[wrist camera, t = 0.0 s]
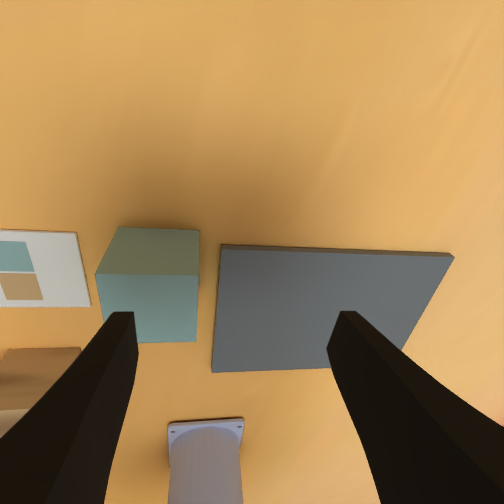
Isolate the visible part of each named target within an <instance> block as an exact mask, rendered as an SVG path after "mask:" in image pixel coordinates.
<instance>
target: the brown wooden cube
mask: <svg viewBox="0 0 504 504" xmlns="http://www.w3.org/2000/svg"><path fill="white" fill-rule="evenodd" d="M80 353H81V348H80V347H67V348H24V349H9V350H8V351H7V353H6V354H5V356H4V357H3V359H2V360H1V362H0V438H1V437H2V436H3V435H4V434H5V433H6V432H7V431H8V430H9V429H10V428H11V427H12V426H13V425H14V424H15V423H16V422H18V421H19V420H20V419H21V418H22V417H23V416H24V415H25V414H26V413H27V412H28V411H29V410H30V409H31V408H32V407H33V406H34V404H35V403H36V402H37V401H38V400H39V399H40V398H41V397H42V396H43V395H44V394H45V393H46V392H47V391H48V390H49V388H50V387H51V386H52V385H53V384H54V383H55V382H56V381H57V380H58V379H59V378H60V377H61V375H62V374H63V373H64V372H65V371H66V370H67V369H68V367H69V366H70V365H71V364H72V363H73V362H74V360H75V359H76V358H77V357H78V356H79V354H80Z"/></svg>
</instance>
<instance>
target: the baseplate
mask: <svg viewBox="0 0 504 504" xmlns="http://www.w3.org/2000/svg"><path fill="white" fill-rule="evenodd" d="M454 258H455V257H454V256H453V255H451V254H450V253H432V252H405V251H378V250H351V249H325V248H298V247H271V246H244V245H222V246H221V258H220V270H219V282H218V294H217V306H216V318H215V330H214V342H213V354H212V367H211V369H212V373H219V372H244V371H269V370H293V369H318V368H331V365H330V362H329V358H328V354H327V350H326V347H327V345H328V342H329V339H330V337H331V334H332V331H333V329H334V326H335V323H336V321H337V318H338V315H339V313H340V311H357V312H358V313H359V314H360V315H361V316H363V317H364V318H365V319H366V320H367V321H368V322H369V323H370V324H372V325H373V326H374V327H375V328H376V329H377V330H378V331H379V332H380V333H382V334H383V335H384V336H385V337H386V338H387V339H388V340H389V341H391V342H392V343H393V344H394V345H395V346H396V347H397V348H398V349H400V350H402V348H403V346H404V345H405V343H406V341H407V340H408V338H409V336H410V334H411V333H412V331H413V329H414V327H415V326H416V324H417V322H418V320H419V319H420V317H421V315H422V313H423V312H424V310H425V308H426V307H427V305H428V303H429V301H430V300H431V298H432V296H433V294H434V293H435V291H436V289H437V287H438V286H439V284H440V282H441V281H442V279H443V277H444V275H445V274H446V272H447V270H448V268H449V267H450V265H451V263H452V261H453V260H454Z"/></svg>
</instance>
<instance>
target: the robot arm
mask: <svg viewBox="0 0 504 504" xmlns="http://www.w3.org/2000/svg"><path fill="white" fill-rule="evenodd" d="M326 350H327V354H328V358H329V362H330V365H331V369H332V372H333V375H334V378H335V380H336V383H337V385H338V388H339V390H340V392H341V395H342V397H343V400H344V402H345V404H346V407H347V409H348V412H349V414H350V416H351V419H352V421H353V423H354V426H355V428H356V431H357V433H358V435H359V438H360V440H361V443H362V446H363V448H364V451H365V454H366V457H367V460H368V463H369V466H370V469H371V473H372V476H373V479H374V482H375V485H376V489H377V492H378V496H379V499H380V502H381V504H504V427H503V426H501V425H499V424H498V423H496V422H495V421H493V420H492V419H490V418H488V417H487V416H486V415H484V414H483V413H481V412H480V411H478V410H477V409H475V408H474V407H472V406H471V405H469V404H468V403H467V402H465V401H464V400H462V399H461V398H460V397H458V396H457V395H456V394H454V393H453V392H451V391H450V390H449V389H447V388H446V387H445V386H443V385H442V384H441V383H439V382H438V381H437V380H436V379H434V378H433V377H432V376H431V375H429V374H428V373H427V372H426V371H424V370H423V369H422V368H421V367H420V366H418V365H417V364H416V363H415V362H414V361H412V360H411V359H410V358H409V357H408V356H406V355H405V354H404V353H403V352H402V351H401V350H400V349H398V348H397V347H396V346H395V345H394V344H393V343H392V342H391V341H389V340H388V339H387V338H386V337H385V336H384V335H383V334H382V333H380V332H379V331H378V330H377V329H376V328H375V327H374V326H373V325H372V324H370V323H369V322H368V321H367V320H366V319H365V318H364V317H363V316H361V315H360V314H359V313H358V312H357V311H340V313H339V315H338V318H337V321H336V323H335V326H334V329H333V331H332V334H331V337H330V339H329V342H328V345H327V347H326ZM138 355H139V352H138V343H137V334H136V325H135V316H134V311H114V312H113V313H111V314H110V316H109V317H108V318H107V320H106V321H105V323H104V324H103V325H102V327H101V328H100V329H99V331H98V332H97V333H96V335H95V336H94V337H93V338H92V340H91V341H90V342H89V343H88V345H87V346H86V347H85V348H84V350H83V351H82V352H81V353H80V354H79V356H78V357H77V358H76V359H75V360H74V362H73V363H72V364H71V365H70V366H69V367H68V369H67V370H66V371H65V372H64V373H63V374H62V375H61V377H60V378H59V379H58V380H57V381H56V382H55V383H54V384H53V385H52V386H51V387H50V388H49V390H48V391H47V392H46V393H45V394H44V395H43V396H42V397H41V398H40V399H39V400H38V401H37V402H36V403H35V404H34V406H33V407H32V408H31V409H30V410H29V411H28V412H27V413H26V414H25V415H24V416H23V417H22V418H21V419H20V420H19V421H18V422H16V423H15V424H14V425H13V426H12V427H11V428H10V429H9V430H8V431H7V432H6V433H5V434H4V435H3V436H2V437H1V438H0V504H104V500H105V495H106V489H107V484H108V479H109V474H110V470H111V466H112V462H113V458H114V454H115V450H116V447H117V443H118V440H119V436H120V432H121V429H122V425H123V422H124V418H125V414H126V411H127V407H128V404H129V400H130V396H131V393H132V389H133V385H134V380H135V374H136V368H137V361H138ZM244 424H245V423H244V419H242V418H239V419H224V420H210V421H195V422H181V423H171V424H169V425H168V447H169V468H170V480H169V492H168V504H244V503H243V492H242V481H241V469H240V458H239V448H240V443H241V439H242V434H243V429H244Z"/></svg>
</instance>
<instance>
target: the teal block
mask: <svg viewBox="0 0 504 504" xmlns="http://www.w3.org/2000/svg"><path fill="white" fill-rule="evenodd" d="M199 243H200V230H181V229H159V228H137V227H118V229H117V231H116V233H115V235H114V237H113V239H112V241H111V243H110V245H109V247H108V249H107V251H106V253H105V255H104V257H103V259H102V260H101V262H100V264H99V266H98V268H97V270H96V272H95V278H96V283H97V289H98V294H99V299H100V304H101V310H102V315H103V320H104V323H105V321H106V320H107V318H108V317H109V316H110V314H111V313H113V312H114V311H134V316H135V325H136V334H137V343H162V342H196V335H197V310H198V284H199Z"/></svg>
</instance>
